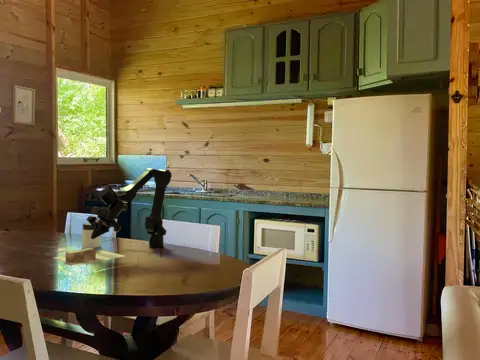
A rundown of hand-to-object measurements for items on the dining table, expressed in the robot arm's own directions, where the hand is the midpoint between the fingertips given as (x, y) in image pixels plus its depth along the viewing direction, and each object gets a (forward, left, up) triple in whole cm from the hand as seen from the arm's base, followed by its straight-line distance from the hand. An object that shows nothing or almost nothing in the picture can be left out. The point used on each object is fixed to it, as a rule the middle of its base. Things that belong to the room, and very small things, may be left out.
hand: (91, 238), depth 197 cm
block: (-1, -1, -6) cm, 7 cm away
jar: (-1, -26, -9) cm, 27 cm away
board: (+1, -2, -9) cm, 9 cm away
